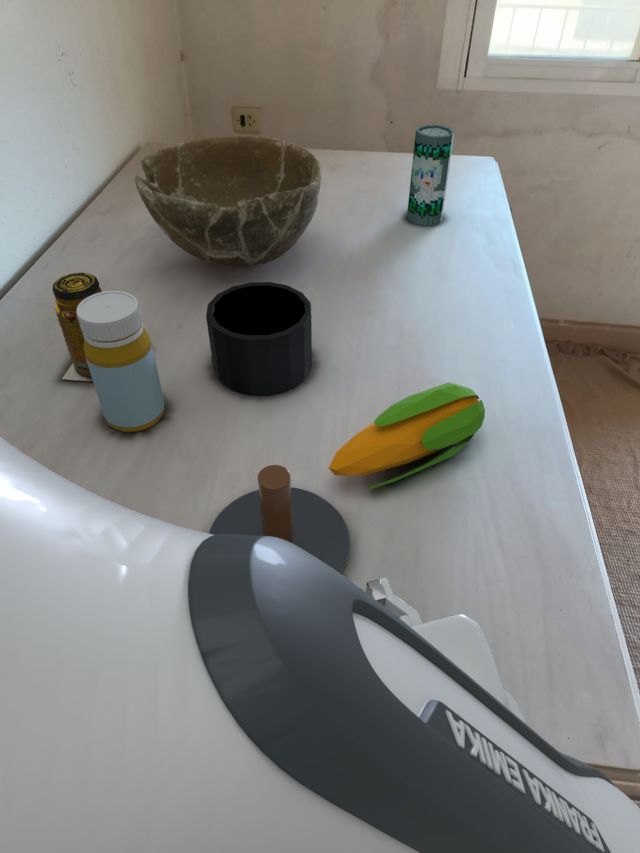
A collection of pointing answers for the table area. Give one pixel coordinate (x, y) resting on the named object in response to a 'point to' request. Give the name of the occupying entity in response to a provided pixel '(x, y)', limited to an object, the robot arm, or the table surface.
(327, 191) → the table surface
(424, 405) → the corn
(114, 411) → the bottle
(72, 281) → the condiment
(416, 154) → the can
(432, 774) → the robot arm
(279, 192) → the bowl
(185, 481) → the table surface
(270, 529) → the lid
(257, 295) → the pot
